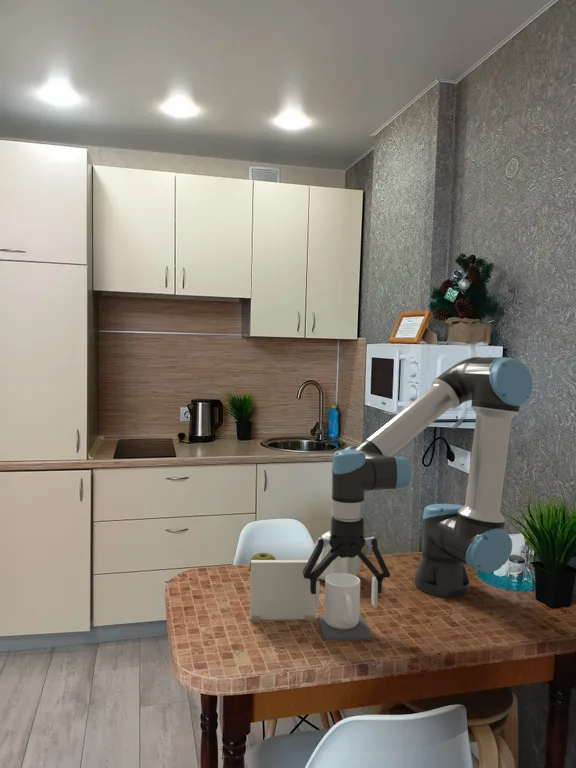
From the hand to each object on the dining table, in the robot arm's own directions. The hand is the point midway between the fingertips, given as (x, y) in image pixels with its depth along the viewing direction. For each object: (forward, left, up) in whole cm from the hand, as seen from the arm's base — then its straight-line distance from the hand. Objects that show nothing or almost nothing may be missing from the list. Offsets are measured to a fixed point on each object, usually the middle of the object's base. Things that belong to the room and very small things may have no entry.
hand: (345, 606), depth 133 cm
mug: (0, 0, -5) cm, 5 cm away
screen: (+14, -5, -5) cm, 16 cm away
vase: (-3, -30, -5) cm, 31 cm away
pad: (0, 0, -5) cm, 5 cm away
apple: (+18, -29, -5) cm, 35 cm away
